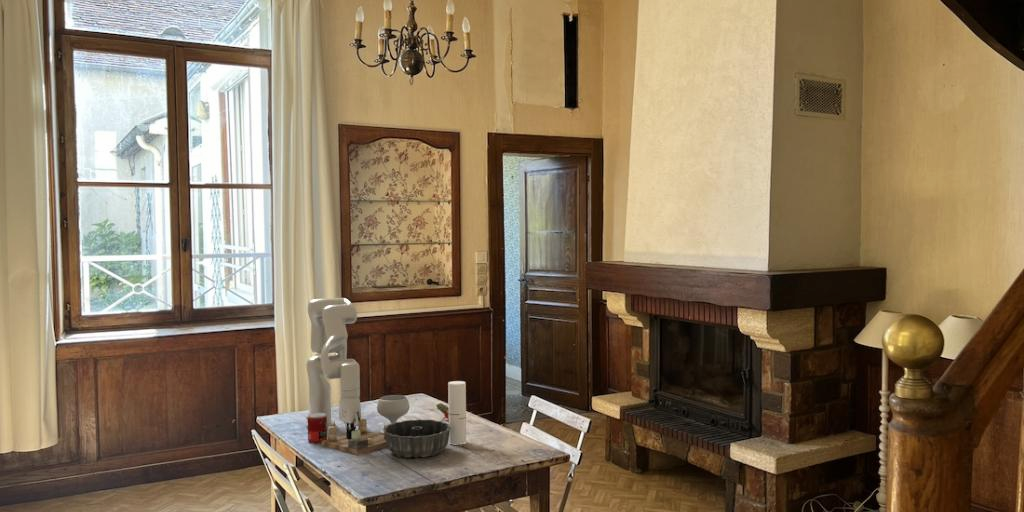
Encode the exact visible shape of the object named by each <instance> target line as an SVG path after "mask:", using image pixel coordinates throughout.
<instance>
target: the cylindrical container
mask: <svg viewBox="0 0 1024 512" xmlns="http://www.w3.org/2000/svg"><path fill="white" fill-rule="evenodd" d="M466 383H467V382H466V381H463V380H454V381H453V380H452V381H448V383H447V386H448V387H447V390H448V392H447V393H448V396H447V397H448V398H447V399H448V400H447V401H448V405H447V407H449V421H448V424H449V426H450V427H451V429H450V432H449V439H448V444H449V443H452V444H460V443H464V442H466V443H467V394H466V393H467V389H466V388H467V384H466Z"/></svg>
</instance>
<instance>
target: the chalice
mask: <svg viewBox="0 0 1024 512" xmlns="http://www.w3.org/2000/svg"><path fill="white" fill-rule="evenodd" d="M376 410H377V413H378V415H380V416H381V417H383V418H386V419H387V420H388V421H390V424H394V423H395V422H398V420H399V419H400V418H402V417H403V416H405V415H407V413H408V412H409V410H410V403H409V399H408V398H407V396H405V395H402V394H390V395H383V396H380V397H379V399H378V401H377V404H376ZM383 429H384V428H382V429H380V430H379V434H383V435H384V430H383Z"/></svg>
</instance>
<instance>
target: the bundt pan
mask: <svg viewBox="0 0 1024 512" xmlns="http://www.w3.org/2000/svg"><path fill="white" fill-rule="evenodd" d="M389 424H390V425H387V426H386V428H384V427H383V428H382V429H383V430H384V433H385V437H386V442H387V447H388V450H389V451H390V453H392V454H394V455H396V456H397V457H399V458H400V457H402V456H403V457H404V458H412V457H413V458H414V459H417V458H419V457H421V458H427V457H433V456H435V455H437V454H439V453H441V452H442V451H443V450H444V449H445V448H446V447H447V446H448V444H449V432H450V429H451V427H450V426H449V422H444V421H443V420H442V421H441V420H435V419H418V418H417V419H408V420H403V421H396V422H395V423H394V424H391V423H389ZM430 455H431V456H430Z"/></svg>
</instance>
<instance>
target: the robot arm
mask: <svg viewBox="0 0 1024 512" xmlns="http://www.w3.org/2000/svg"><path fill="white" fill-rule="evenodd" d="M357 312H358V311H357V309H356V307H355V305H354V303H352V302H351V301H350V300H349V299H348V298H346V297H336V298H334V297H331V298H327V297H326V298H315V299H312V300H310V301H309V302H308V304H307V314H308V317H309V321H310V349H311V352H312V353H314V354H317V355H314V356H312V357H310V358H308V359H307V361H306V373H307V377H308V378H307V379H308V400H309V401H308V405H309V407H308V409H309V413H308V415H309V414H311V413H325V414H327V429H328V427H330V426H336V423H335V421H334V420H332V392H331V391H332V389H331V388H332V387H331V384H330V383H329V381H328V380H337V379H340V398H339V406H338V419H339V420H340V421H341V422H343V423H344V425H345V430H346V431H345V433H346V434H345V435H346V439H348V440H350V439H352V431H353V430H357V427H358V426H359V422H360V421H361V419H362V409H361V408H362V407H361V398H360V397H361V390H360V389H361V387H360V385H361V381H360V380H361V379H360V376H361V375H360V374H361V373H360V372H361V371H360V368H361V367H360V364H359V362H357V360H355V359H354V358H347V355H348V354H347V353H348V352H347V351H348V343H347V342H348V337H349V335H348V331H347V327H346V325H349V324H355V323H356V321H357V319H358V313H357ZM333 353H334V354H333ZM318 354H319V355H318ZM327 379H328V380H327ZM308 415H306V416H305V419H307V416H308ZM305 427H306V428H308V422H306V424H305Z"/></svg>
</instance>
